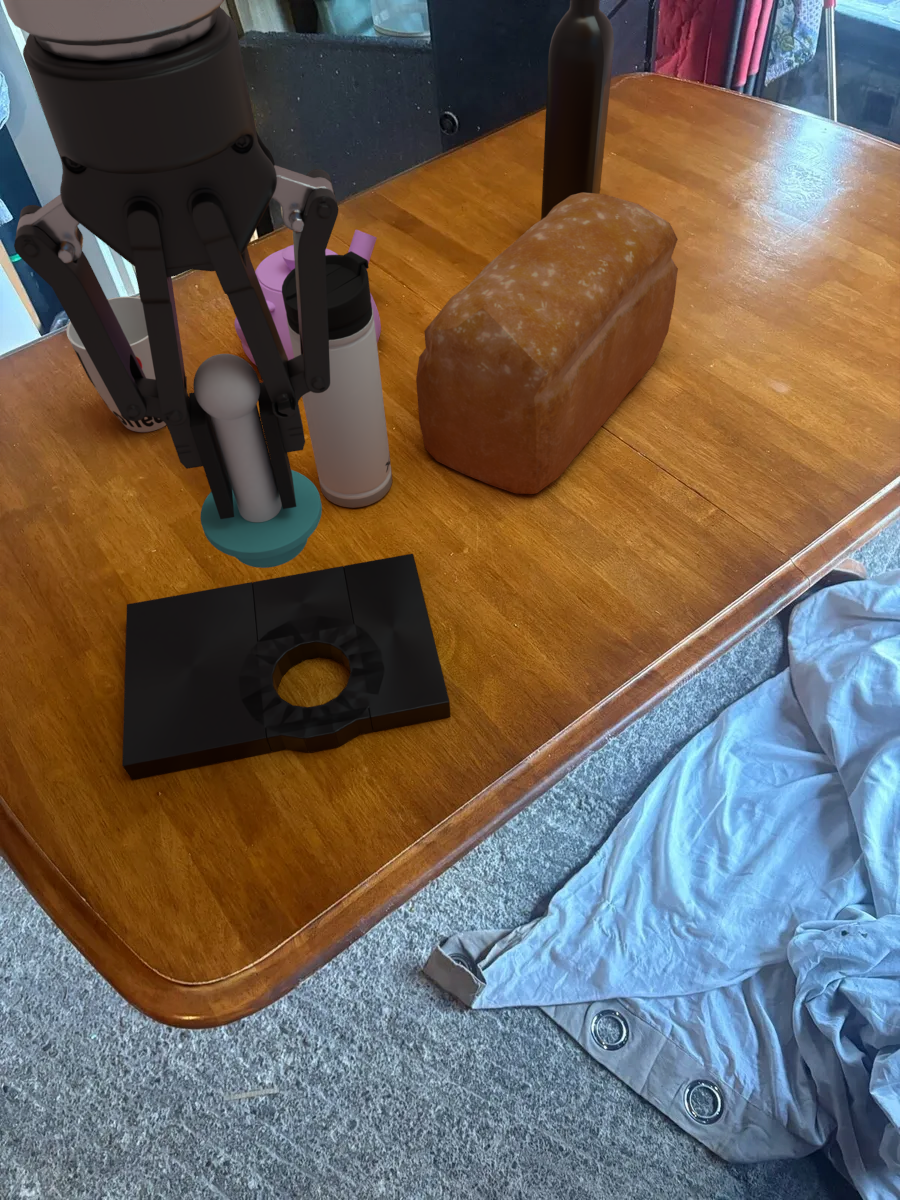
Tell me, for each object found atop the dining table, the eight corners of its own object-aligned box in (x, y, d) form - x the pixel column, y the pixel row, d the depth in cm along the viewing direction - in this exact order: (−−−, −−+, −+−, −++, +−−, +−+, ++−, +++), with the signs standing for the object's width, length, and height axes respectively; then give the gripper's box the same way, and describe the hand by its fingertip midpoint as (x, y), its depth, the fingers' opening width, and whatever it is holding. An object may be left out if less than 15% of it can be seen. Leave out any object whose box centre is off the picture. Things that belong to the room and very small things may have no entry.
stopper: (213, 592, 50) (146, 416, 40) (209, 508, 54) (148, 329, 44) (333, 571, 51) (296, 393, 41) (320, 489, 55) (284, 310, 45)
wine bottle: (537, 248, 100) (551, -76, 77) (549, 222, 104) (567, -95, 80) (586, 255, 99) (616, -72, 76) (597, 229, 102) (629, -92, 79)
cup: (89, 434, 83) (47, 343, 75) (133, 381, 88) (98, 290, 80) (166, 449, 81) (132, 357, 73) (207, 395, 86) (179, 303, 78)
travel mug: (410, 480, 77) (390, 270, 62) (352, 520, 75) (316, 310, 59) (363, 447, 80) (333, 238, 65) (306, 484, 77) (260, 275, 62)
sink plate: (131, 788, 60) (121, 774, 58) (134, 620, 69) (126, 604, 67) (452, 724, 62) (451, 709, 60) (414, 569, 71) (413, 553, 69)
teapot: (430, 314, 93) (424, 216, 85) (311, 422, 83) (291, 323, 74) (326, 278, 98) (311, 182, 90) (201, 376, 88) (171, 277, 79)
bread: (407, 453, 80) (392, 297, 67) (551, 308, 93) (560, 156, 81) (542, 511, 74) (552, 353, 62) (674, 348, 88) (703, 192, 76)
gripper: (-130, 87, 28) (110, 569, 47) (361, 34, 30) (407, 520, 48) (-89, 5, 33) (115, 473, 51) (335, -37, 35) (385, 431, 53)
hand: (256, 495), depth 50 cm, fingers closed on stopper, 3 cm apart
